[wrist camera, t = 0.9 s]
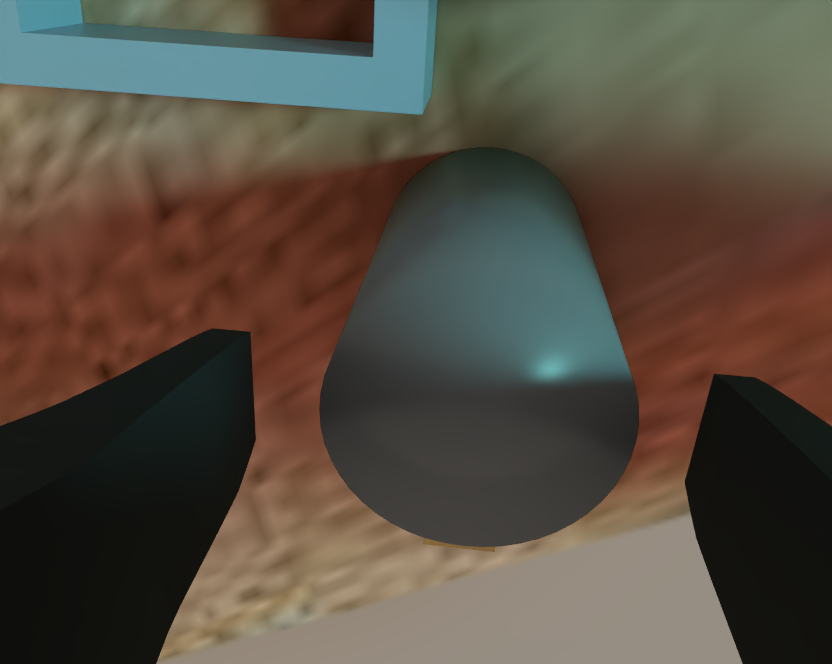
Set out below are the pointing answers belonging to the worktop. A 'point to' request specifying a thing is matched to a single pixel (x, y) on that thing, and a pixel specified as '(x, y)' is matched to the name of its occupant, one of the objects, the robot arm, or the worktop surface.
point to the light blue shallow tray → (224, 59)
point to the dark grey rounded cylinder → (480, 362)
